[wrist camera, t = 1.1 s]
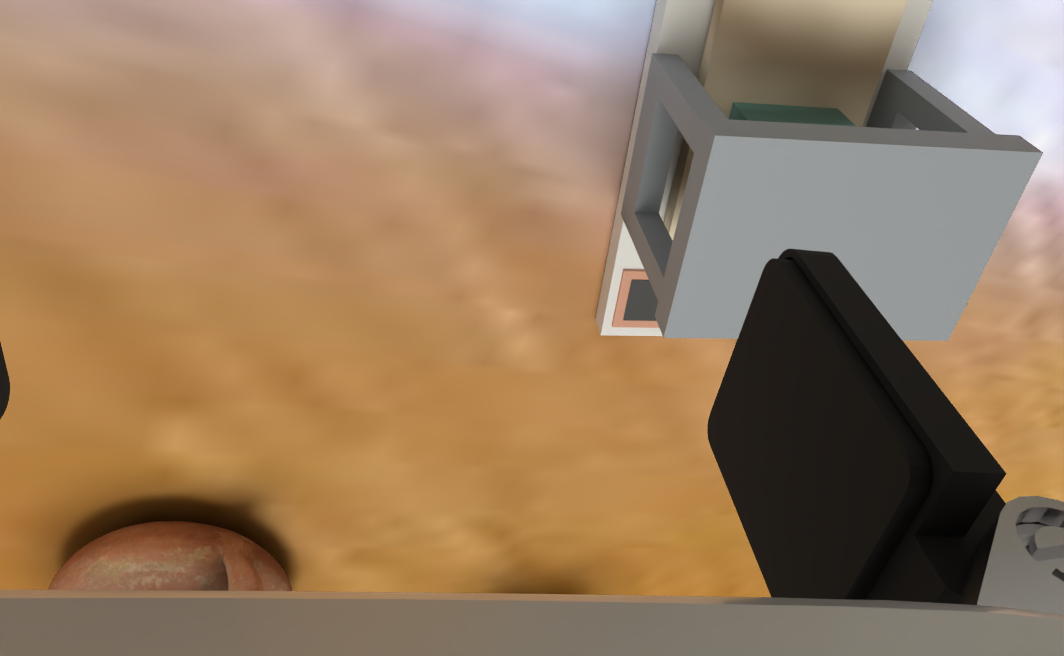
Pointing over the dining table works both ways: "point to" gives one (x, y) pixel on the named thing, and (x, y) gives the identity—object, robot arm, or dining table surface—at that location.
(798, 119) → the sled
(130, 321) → the dining table surface
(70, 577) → the ceramic jug
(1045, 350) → the dining table surface
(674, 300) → the tunnel board
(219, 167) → the dining table surface
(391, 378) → the dining table surface
